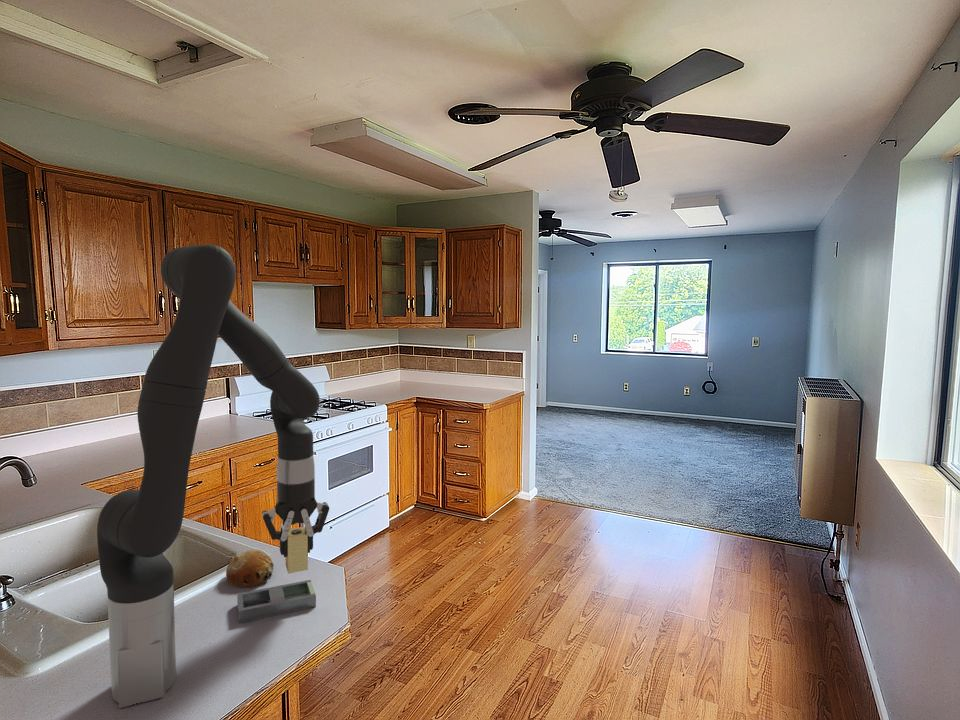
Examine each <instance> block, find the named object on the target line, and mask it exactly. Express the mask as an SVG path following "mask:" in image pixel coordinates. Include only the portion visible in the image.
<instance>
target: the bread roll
mask: <svg viewBox="0 0 960 720" xmlns="http://www.w3.org/2000/svg"><path fill="white" fill-rule="evenodd" d="M273 570H274V563H273V561H272V558H271V557H270V555H269V554H268V553H267V552H266V551H264V550H262V549H247V550H245V551H242V552H240V553H239V554H237V555H235V556H234V557H233V558H232V559H231V560H230V562H229V563H228V565H227V567H226V570H225V577H226V580H227V583H229V584H230V585H232V586H235V587H238V588H251V587H252V586H253V587H257V586H259V585H262V584H265V583H266V582H267V580H268V579H269V580H270V579H271V577H272V576H273V572H274V571H273ZM269 580H268V581H269ZM265 581H266V582H265ZM261 583H262V584H261ZM256 585H257V586H256Z"/></svg>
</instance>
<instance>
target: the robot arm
mask: <svg viewBox="0 0 960 720" xmlns="http://www.w3.org/2000/svg"><path fill="white" fill-rule="evenodd" d="M236 271H237V269H236V265H235V262H234V259H233V258H232V256H231V255H230V253H229V252H228V251H227V250H225V249H224V248H223V247H221V246H219V245H214V244H195V245H187V246H181V247H175V248H174V249H171V250H170V251H168V252H167V253H166V254H165V255H164V256H163V258H162V261H161V264H160V274H161V275H160V276H161V278H162V281H163V282H164V284H165V286H166V287H167V288H168V289H169V291H170V292H171V293H173V294H174V295H175V296H176V297H177V298H178V299H179V304H178V310H177V313H176V317H175V320H174V322H173V324H172V327H171V329H170V331H169V333H168V334H167V335H166V337H165V338H164V340H163V341H162V343H161V344H160V346H159V348H158V349H157V351H156V353H155V354H154V356H153V357H152V359H151V361H150V363H149V365H148V366H147V368H146V372H145V375H144V377H143V378H144V379H143V382H142V387H141V391H140V394H139V395H140V396H139V399H138V403H137V423H138V429H139V435H140V440H141V446H142V451H143V463H144V465H143V474H142V480H141V483H140V487H139V489H127V490H123V491H121V492H117V493H116V494H115V495H113V496H112V497H111V498H109V500H108V501H107V502H105V504H104V506H102V509H101V511H100V513H99V515H98V520H97V524H96V525H97V527H96V539H97V540H96V541H97V549H98V550H97V551H98V560H99V561H98V562H99V571H100V575H101V578H102V581H103V582H104V584H105V587H106V589H107V590H106V591H107V610H108V611H107V613H108V614H107V617H108V618H107V619H108V636H109V639H108V640H109V658H110V659H109V660H110V662H109V663H110V681H111V683H110V684H111V686H110V687H111V697H112V699H113V700H114V701H115V702H116V703H118V708H119V709H122V708H126V707H130V706H134V705H137V704H136V703H138V704H142V703H145V702H150V701H154V700H157V699H161V698H164V697H165V693H166V692H167V691H168V690H169V689H170V688H171V687H172V686H173V684H174V683H175V681H176V679H177V659H176V658H177V657H176V656H177V654H176V626H175V625H176V624H175V623H176V621H175V619H176V618H175V586H174V585H175V584H174V583H175V580H174V579H175V578H174V577H175V576H174V568H173V565H172V564H171V562H170V561H169V560H168V559H167V557H165V555H164V554H163V553H164V552H166V551H167V550H168V549H169V548H170V547H171V546H172V545H173V543H174V542H175V540H176V539H177V537H178V536H179V533H180V531H181V528H182V524H183V521H184V514H185V505H186V499H187V498H186V497H187V489H188V478H189V473H190V464H191V459H192V454H193V450H194V449H193V448H194V444H195V440H196V439H195V438H196V434H197V429H198V424H199V421H200V417H201V413H202V410H203V405H204V400H205V395H206V392H207V391H206V390H207V388H208V387H207V385H208V382H209V381H208V380H209V375H210V371H211V367H212V363H213V358H214V354H215V350H216V347H217V346H216V345H217V341H218V337H219V338H220V339H222V341H223V342H224V343H225V345H227V346H228V347H229V348H230V350H232V352H233V353H234V355H236V357H237V358H238V359H239V360H240V362H241V363H242V364H243V365H244V366H245V368H246V369H247V370H248V371H249V373H250V374H251V375H252V376H253V378H254V379H255V380H256V381H257V382H258V383H259V384H260V385H261V386H263V387H264V388H267V389H268V390H270V391H272V392H271V395H270V400H269V407H270V413H271V417H272V421H273V426H274V428H275V432H276V435H277V462H276V495H277V496H276V498H277V499H276V500H277V501H276V503H275V506H274V508H272V509H269V510H265V509H264V510H263V511H262V512H261V516H262V519H263V521H264V523H265V526H266V529H267V531H268V533H269V536H270V538H271V540H273V541H276V540H277V541H279V553H280V555H281V556H283V558H286V557H287V535H288V532H289V530H290V529H291V527H292V525H296V524H303V525H304V527H305V529H306V531H307V534H308V554H311V551H312V550H313V549H314V535H315V534H317V533H318V534H319V533H322V531H323V529H324V526H325V522H326V520H327V517H328V516H329V515H328V514H329V512H330V506H329V504H328V502H325V501H324V502H317V500H316V498H315V497H316V494H315V493H316V491H315V490H316V489H315V487H316V484H315V483H316V481H315V479H316V475H315V471H316V470H315V459H314V458H315V457H314V433H313V431H312V429H310V428H309V427H308V426H307V425H306V424H305V423H304V419H305V420H306V419H310V418H311V417H313V416H314V415H315V414H316V413H317V412H318V410H319V409H320V405H321V398H320V395H319V391H318V390H317V388H316V387H315V386H314V384H313V383H312V382H311V381H310V380H309V379H308V377H306V376H305V375H304V374H303V373H302V372H301V371H300V370H299V369H297V368H296V367H294V365H292V364H291V362H290V361H289V360H288V358H287V357H286V355H285V354H284V352H283V351H282V349H280V347H279V346H278V344H277V343H276V342H275V340H274V339H273V338H272V337H271V336H270V335H269V334H268V333H267V332H266V331H264V329H263V328H261V327H260V326H259V325H258V324H257V323H256V322H254V321H253V320H252V319H251V318H249V317H248V316H247V315H246V314H245V313H243V311H241V310H240V308H238V307H237V306H236V305H235V304H234V303H233V302H232V301H231V298H232V294H233V291H234V288H235V284H236V279H237V272H236ZM316 509H317V512H318V515H317V517H316V520H315V523H314V524H313V525H312V523H311V519H310V517H312V515H313V513H314V512H315V510H316ZM275 515H277V517H279V518H280V519H281V520H282V521H281V524H280V525H281V527H280V530H277V529H276V528H275V524H274V523H273V521H274V520H275V519H276V518H275ZM141 702H142V703H141ZM133 704H134V705H133Z"/></svg>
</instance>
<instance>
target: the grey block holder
mask: <svg viewBox="0 0 960 720" xmlns="http://www.w3.org/2000/svg"><path fill="white" fill-rule="evenodd" d="M236 594H237V596H236V598H237V599H236V601H237V605H236V606H237V613H238V614H237V615H238V623H239V624H241V623H245V622H246V623H247V622H250V621H255V620H261V619H264V618H265V619H266V618H269V616H270V617H273V616H279V615H284V614H287V613H293V612H296V611H297V612H299V611H302V610H307V609H310V608H311V609H312V608H315V607H317V595H316V592H315V589H314V586H313V583H312V580H311V579H307V580H303V581H297V582H293V583H292V582H291V583H286V584H281V585H276V586H271V587H265V588H260V589H254V590H249V591H244V592H239V593H236ZM267 600H269V601H267ZM262 601H265V602H267V603H263V602H262ZM258 602H260V604H259V603H258ZM253 603H255V604H256V605H254V604H253ZM261 603H262V604H261ZM248 604H250V605H252V606H249V605H248ZM243 605H245V606H247V607H244V606H243Z"/></svg>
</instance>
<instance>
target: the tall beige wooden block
mask: <svg viewBox="0 0 960 720" xmlns="http://www.w3.org/2000/svg"><path fill="white" fill-rule="evenodd" d="M308 556H309V553H308V534H307V531H306V528H305V526H300V527H294V528H290V530H289V532H288V535H287V557H285V567H286V571H287V575H288V574H293V573H298V572H303V571H307V570H309V566H308V565H309V564H308V563H309V561H308V559H309V557H308Z"/></svg>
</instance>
